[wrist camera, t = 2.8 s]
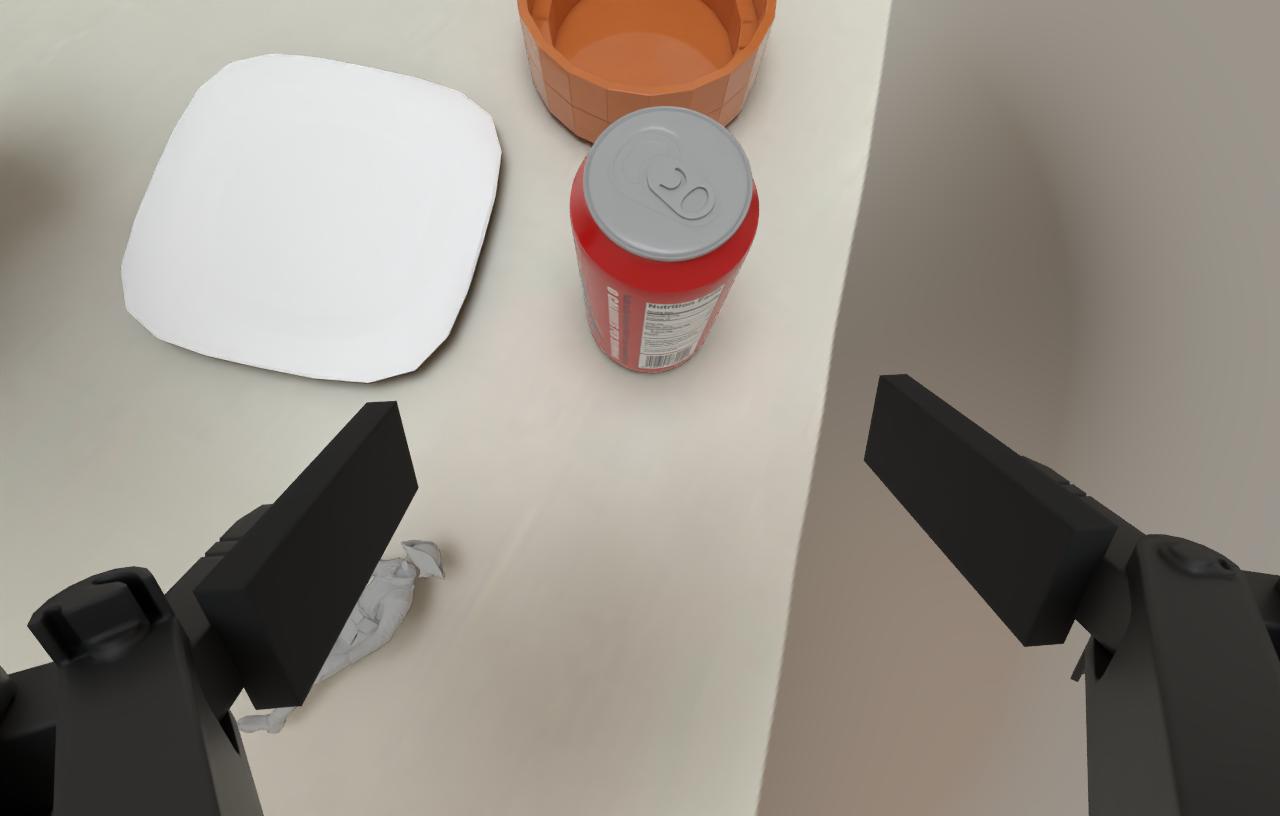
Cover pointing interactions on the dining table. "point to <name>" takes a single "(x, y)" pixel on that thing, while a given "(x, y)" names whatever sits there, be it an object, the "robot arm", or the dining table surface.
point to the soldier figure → (367, 620)
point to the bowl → (643, 56)
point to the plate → (314, 219)
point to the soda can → (660, 233)
